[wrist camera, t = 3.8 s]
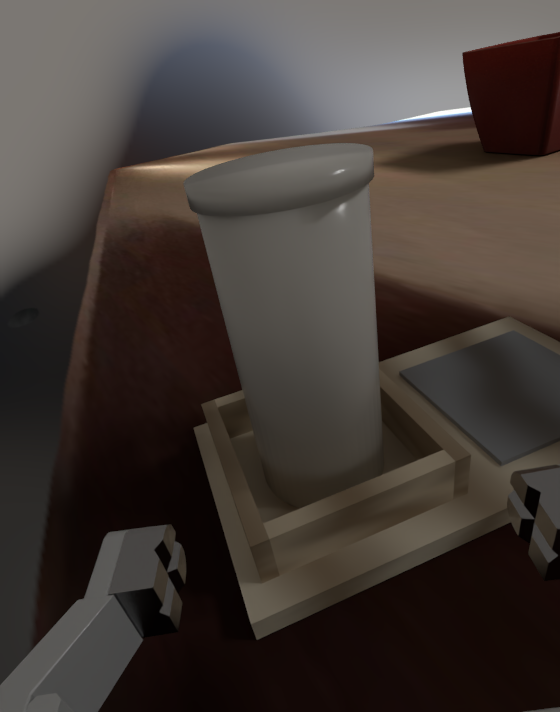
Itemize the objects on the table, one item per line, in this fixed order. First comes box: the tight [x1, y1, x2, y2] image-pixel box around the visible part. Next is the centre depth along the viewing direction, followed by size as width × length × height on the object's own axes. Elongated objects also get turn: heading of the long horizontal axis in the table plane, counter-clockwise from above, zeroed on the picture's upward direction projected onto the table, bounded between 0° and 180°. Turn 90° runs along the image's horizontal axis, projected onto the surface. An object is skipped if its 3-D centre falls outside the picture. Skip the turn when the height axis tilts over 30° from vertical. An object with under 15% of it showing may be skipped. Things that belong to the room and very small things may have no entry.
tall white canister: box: [184, 143, 384, 508], centre depth 21 cm, size 10×7×15 cm
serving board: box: [194, 316, 560, 640], centre depth 25 cm, size 24×13×4 cm, turn 110°
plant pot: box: [463, 32, 560, 155], centre depth 77 cm, size 19×19×17 cm
